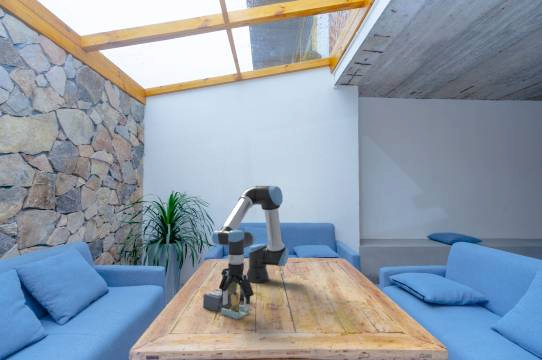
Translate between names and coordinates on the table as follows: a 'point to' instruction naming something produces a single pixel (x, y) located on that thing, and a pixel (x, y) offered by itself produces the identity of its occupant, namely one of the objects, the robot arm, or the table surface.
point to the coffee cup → (232, 286)
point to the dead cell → (241, 295)
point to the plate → (216, 293)
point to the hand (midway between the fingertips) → (235, 307)
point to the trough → (235, 314)
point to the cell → (235, 302)
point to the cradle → (215, 302)
